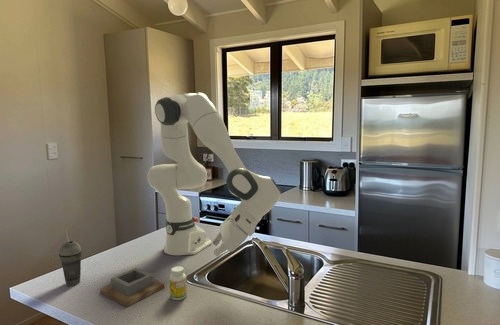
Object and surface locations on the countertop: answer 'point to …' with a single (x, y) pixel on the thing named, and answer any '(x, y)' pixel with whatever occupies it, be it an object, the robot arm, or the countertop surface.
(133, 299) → the collar socket
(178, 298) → the supplement bottle
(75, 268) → the beverage cup
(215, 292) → the countertop surface
